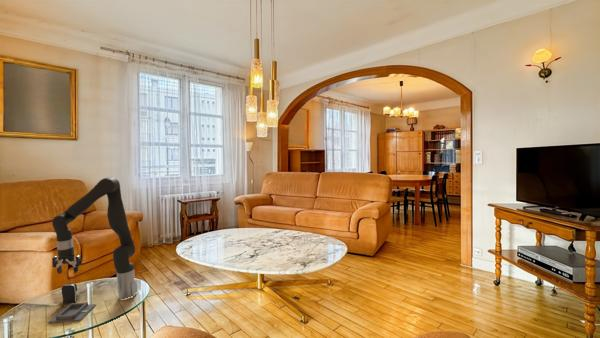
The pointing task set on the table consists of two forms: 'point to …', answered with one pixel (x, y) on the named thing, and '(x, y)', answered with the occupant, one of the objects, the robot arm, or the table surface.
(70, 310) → the dock
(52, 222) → the robot arm
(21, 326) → the table surface
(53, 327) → the table surface
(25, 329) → the table surface
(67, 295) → the battery
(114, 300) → the table surface
